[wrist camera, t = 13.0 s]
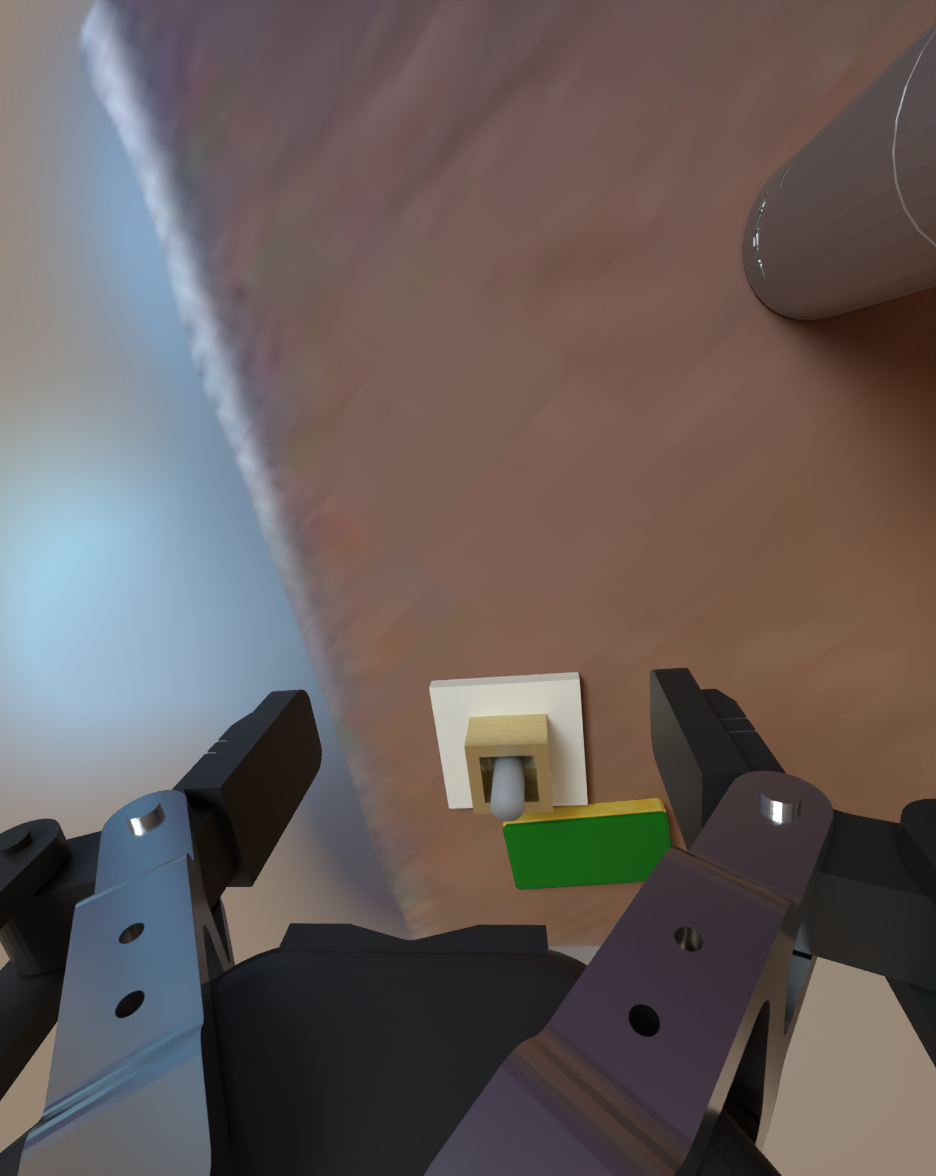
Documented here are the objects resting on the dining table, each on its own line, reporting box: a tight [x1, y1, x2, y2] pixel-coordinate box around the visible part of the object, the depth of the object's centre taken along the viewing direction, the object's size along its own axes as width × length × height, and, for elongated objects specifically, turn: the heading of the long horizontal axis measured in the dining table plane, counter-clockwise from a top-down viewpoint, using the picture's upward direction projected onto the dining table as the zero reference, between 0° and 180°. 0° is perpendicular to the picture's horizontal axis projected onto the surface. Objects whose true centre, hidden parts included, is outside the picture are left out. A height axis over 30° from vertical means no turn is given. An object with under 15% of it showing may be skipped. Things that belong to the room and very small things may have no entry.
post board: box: [429, 672, 588, 822], centre depth 41 cm, size 12×12×8 cm
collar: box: [464, 714, 553, 814], centre depth 42 cm, size 6×6×4 cm
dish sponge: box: [503, 798, 671, 890], centre depth 47 cm, size 7×14×2 cm, turn 102°
